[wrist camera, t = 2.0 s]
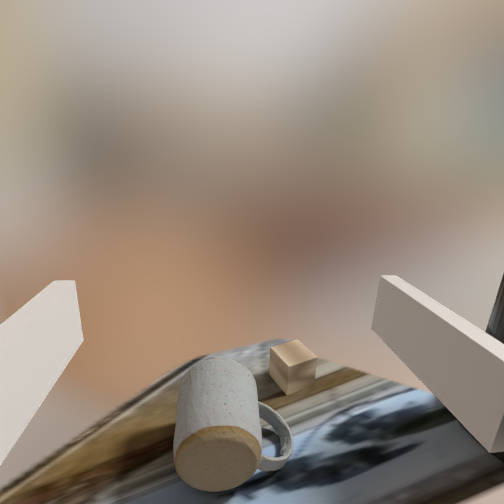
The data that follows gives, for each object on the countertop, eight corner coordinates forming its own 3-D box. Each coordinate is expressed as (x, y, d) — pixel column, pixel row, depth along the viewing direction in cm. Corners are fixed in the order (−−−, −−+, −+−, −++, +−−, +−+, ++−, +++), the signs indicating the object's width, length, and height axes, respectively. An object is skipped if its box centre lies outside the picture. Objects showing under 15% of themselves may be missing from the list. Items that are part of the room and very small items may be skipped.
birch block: (294, 365, 41) (297, 339, 39) (313, 385, 37) (317, 357, 36) (268, 374, 39) (270, 347, 38) (286, 395, 35) (289, 366, 34)
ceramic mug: (171, 505, 24) (168, 429, 22) (180, 419, 32) (179, 356, 29) (302, 492, 26) (313, 419, 23) (280, 412, 33) (287, 352, 31)
